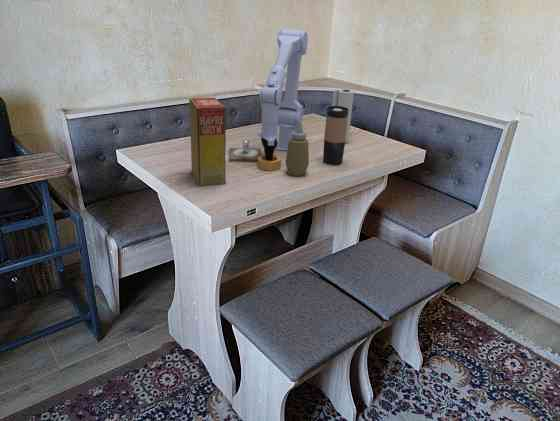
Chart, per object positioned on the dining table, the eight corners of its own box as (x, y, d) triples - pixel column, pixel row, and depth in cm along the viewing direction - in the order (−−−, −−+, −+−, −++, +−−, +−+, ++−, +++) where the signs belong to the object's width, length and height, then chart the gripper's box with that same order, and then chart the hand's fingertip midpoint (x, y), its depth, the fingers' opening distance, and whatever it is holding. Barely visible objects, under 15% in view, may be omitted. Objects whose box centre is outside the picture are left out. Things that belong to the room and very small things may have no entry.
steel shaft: (248, 152, 172) (248, 139, 170) (249, 154, 170) (249, 141, 168) (242, 152, 172) (242, 139, 170) (242, 154, 170) (242, 141, 168)
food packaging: (227, 183, 148) (226, 106, 136) (198, 186, 145) (195, 108, 133) (217, 169, 159) (216, 96, 148) (190, 171, 156) (186, 97, 144)
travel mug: (344, 160, 172) (350, 107, 163) (340, 167, 166) (346, 112, 157) (325, 157, 174) (329, 104, 165) (319, 163, 168) (324, 109, 159)
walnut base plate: (260, 150, 178) (260, 147, 177) (262, 161, 167) (262, 158, 166) (229, 150, 176) (229, 147, 176) (229, 161, 166) (229, 158, 165)
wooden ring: (279, 162, 167) (279, 154, 166) (281, 170, 160) (281, 162, 158) (257, 162, 166) (257, 154, 165) (258, 170, 159) (258, 162, 158)
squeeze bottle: (300, 179, 154) (304, 127, 145) (280, 173, 157) (282, 122, 149) (312, 172, 160) (316, 121, 152) (292, 167, 163) (295, 117, 155)
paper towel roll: (350, 141, 193) (356, 90, 183) (344, 145, 188) (350, 92, 179) (335, 138, 196) (340, 87, 186) (328, 141, 191) (333, 90, 182)
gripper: (257, 115, 165) (256, 151, 171) (259, 127, 152) (258, 165, 158) (276, 116, 166) (275, 151, 172) (280, 127, 153) (279, 165, 159)
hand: (268, 158), depth 165 cm, fingers closed on wooden ring
